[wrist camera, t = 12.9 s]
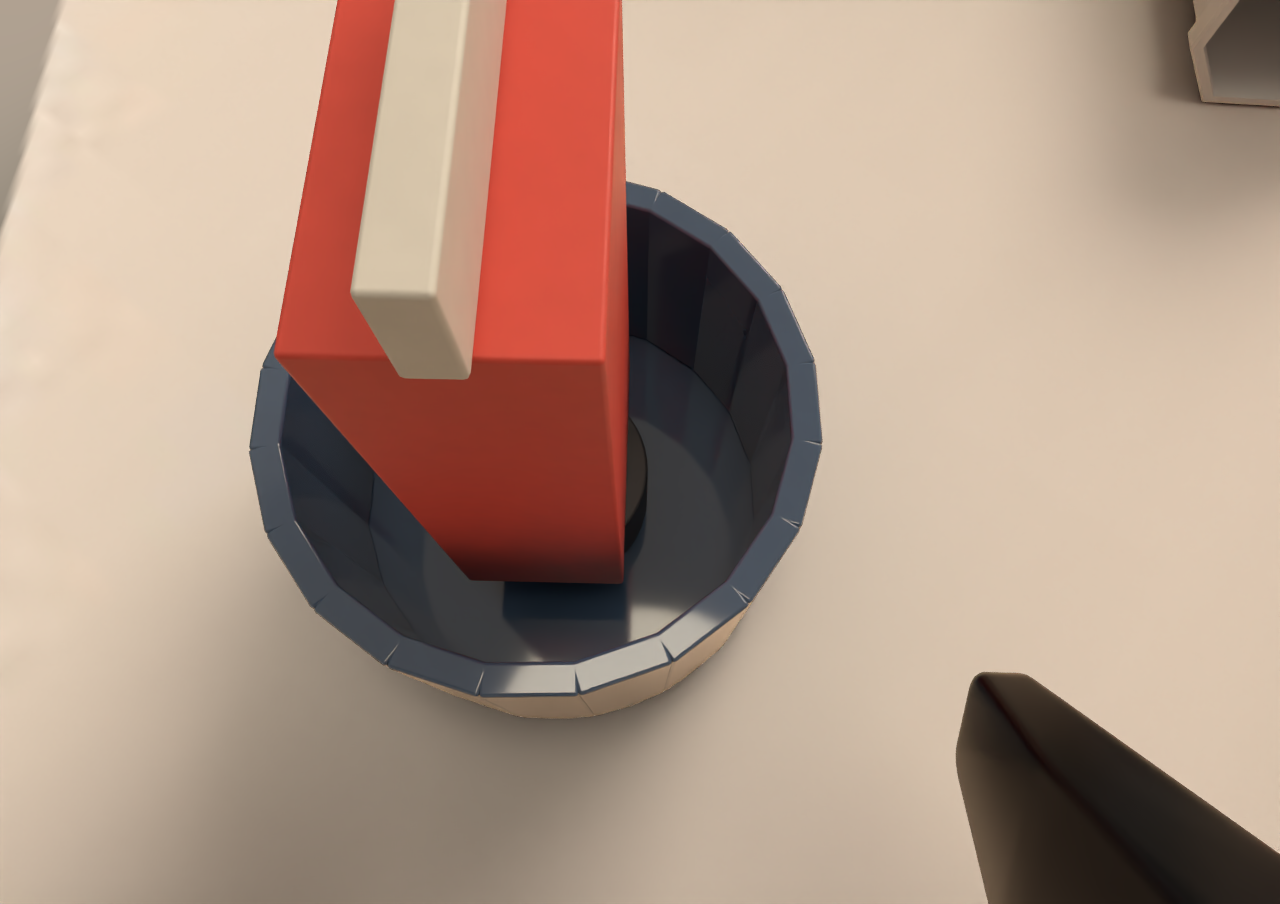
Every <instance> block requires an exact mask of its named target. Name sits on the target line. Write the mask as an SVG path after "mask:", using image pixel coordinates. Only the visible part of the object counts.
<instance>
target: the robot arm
mask: <svg viewBox="0 0 1280 904" xmlns="http://www.w3.org/2000/svg"><path fill="white" fill-rule="evenodd" d="M956 767H957V774H958V779H959V783H960V787H961V791H962V795H963V799H964V804H965V808H966V812H967V816H968V820H969V825H970V829H971V833H972V837H973V841H974V845H975V850H976V854H977V858H978V862H979V866H980V870H981V875H982V879H983V883H984V887H985V891H986V896H987V900H988V904H1280V854H1279V853H1277V852H1276V851H1275V850H1273V849H1272V848H1270V847H1269V846H1268V845H1266V844H1265V843H1263V842H1262V841H1261V840H1259V839H1258V838H1256V837H1255V836H1254V835H1252V834H1251V833H1249V832H1248V831H1247V830H1245V829H1244V828H1242V827H1241V826H1239V825H1238V824H1237V823H1235V822H1234V821H1232V820H1231V819H1230V818H1228V817H1227V816H1225V815H1224V814H1223V813H1221V812H1220V811H1218V810H1217V809H1216V808H1214V807H1213V806H1211V805H1210V804H1209V803H1207V802H1206V801H1204V800H1203V799H1202V798H1200V797H1199V796H1197V795H1196V794H1194V793H1193V792H1192V791H1190V790H1189V789H1187V788H1186V787H1185V786H1183V785H1182V784H1180V783H1179V782H1178V781H1176V780H1175V779H1173V778H1172V777H1171V776H1169V775H1168V774H1166V773H1165V772H1164V771H1162V770H1161V769H1159V768H1158V767H1157V766H1155V765H1154V764H1152V763H1151V762H1150V761H1148V760H1147V759H1145V758H1144V757H1142V756H1141V755H1140V754H1138V753H1137V752H1135V751H1134V750H1133V749H1131V748H1130V747H1128V746H1127V745H1126V744H1124V743H1123V742H1121V741H1120V740H1119V739H1117V738H1116V737H1114V736H1113V735H1112V734H1110V733H1109V732H1107V731H1106V730H1105V729H1103V728H1102V727H1100V726H1099V725H1098V724H1096V723H1095V722H1093V721H1092V720H1090V719H1089V718H1088V717H1086V716H1085V715H1083V714H1082V713H1081V712H1079V711H1078V710H1076V709H1075V708H1074V707H1072V706H1071V705H1069V704H1068V703H1067V702H1065V701H1064V700H1062V699H1061V698H1060V697H1058V696H1057V695H1055V694H1054V693H1053V692H1051V691H1050V690H1048V689H1047V688H1046V687H1044V686H1043V685H1041V684H1040V683H1038V682H1037V681H1036V680H1034V679H1033V678H1031V677H1029V676H1028V675H1025V674H1021V673H999V672H982V673H980V674H978V675H976V676H975V677H974V679H973V680H972V682H971V684H970V688H969V692H968V696H967V701H966V705H965V710H964V714H963V719H962V723H961V728H960V732H959V737H958V741H957V747H956Z"/></svg>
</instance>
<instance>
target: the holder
mask: <svg viewBox="0 0 1280 904" xmlns="http://www.w3.org/2000/svg"><path fill="white" fill-rule="evenodd" d="M626 216H627V262H628V309H629V355H630V373H629V407H628V416H629V417H630V418H631V420H632V421H633V423H634V424H635V426H636V427H637V429H638V431H639V433H640V435H641V437H642V440H643V443H644V446H645V450H646V456H647V465H648V481H647V504H646V512H645V517H644V521H643V524H642V526H641V529H640V532H639V533H638V535H637V537H636V539H635V541H634V542H633V544H632V545H631V546H630V548H629V549H628V550H627V552H626V553H625V554H624V576H623V583H621V584H604V583H560V582H517V581H473V580H469V579H468V577H467V576H466V575H465V574H464V573H463V572H462V571H461V569H460V568H459V567H458V566H457V565H456V564H455V563H454V561H453V560H452V559H451V558H450V557H449V556H448V555H447V553H446V552H445V551H444V550H443V549H442V548H441V547H440V545H439V544H438V543H437V542H436V541H435V540H434V539H433V537H432V536H431V535H430V534H429V533H428V532H427V531H426V529H425V528H424V527H423V526H422V525H421V524H420V523H419V522H418V520H417V519H416V518H415V517H414V516H413V515H412V514H411V512H410V511H409V510H408V509H407V508H406V507H405V506H404V504H403V503H402V502H401V501H400V500H399V499H398V498H397V496H396V495H395V494H394V493H393V492H392V491H391V490H390V488H389V487H388V486H387V485H386V484H385V483H384V482H383V480H382V479H381V478H380V477H379V476H378V475H377V474H376V472H375V471H374V470H373V469H372V468H371V467H370V466H369V464H368V463H367V462H366V461H365V460H364V459H363V458H362V456H361V455H360V454H359V453H358V452H357V451H356V450H355V448H354V447H353V446H352V445H351V444H350V443H349V442H348V440H347V439H346V438H345V437H344V436H343V435H342V434H341V432H340V431H339V430H338V429H337V428H336V427H335V426H334V424H333V423H332V422H331V421H330V420H329V419H328V418H327V416H326V415H325V414H324V413H323V412H322V411H321V410H320V408H319V407H318V406H317V405H316V404H315V403H314V402H313V400H312V399H311V398H310V397H309V396H308V395H307V394H306V392H305V391H304V390H303V389H302V388H301V387H300V386H299V384H298V383H297V382H296V381H295V380H294V379H293V378H292V377H291V375H290V374H289V373H288V372H287V371H286V370H285V369H284V367H283V366H282V365H281V364H280V363H279V362H278V361H277V359H276V358H275V356H274V348H275V343H276V339H275V341H274V343H273V345H272V347H271V349H270V351H269V353H268V355H267V357H266V359H265V361H264V363H263V366H262V367H263V368H262V369H261V371H260V378H259V385H258V392H257V399H256V405H255V412H254V419H253V426H252V432H251V439H250V446H249V447H250V451H249V455H250V460H251V465H252V470H253V475H254V480H255V485H256V490H257V495H258V500H259V505H260V510H261V515H262V520H263V525H264V530H265V532H266V533H267V537H268V539H269V541H270V542H271V544H272V546H273V547H274V549H275V551H276V552H277V554H278V555H279V557H280V559H281V560H282V562H283V563H284V565H285V567H286V568H287V570H288V572H289V573H290V575H291V576H292V578H293V580H294V581H295V583H296V585H297V586H298V588H299V589H300V591H301V593H302V594H303V596H304V597H305V599H306V601H307V602H308V604H309V606H310V607H311V608H313V609H314V611H315V613H317V614H318V615H319V616H320V617H322V618H323V619H324V620H326V621H327V622H328V623H329V624H331V625H332V626H333V627H335V628H336V629H337V630H338V631H340V632H341V633H342V634H344V635H345V636H346V637H347V638H349V639H350V640H351V641H353V642H354V643H355V644H356V645H358V646H359V647H360V648H362V649H363V650H364V651H365V652H367V653H368V654H369V655H371V656H372V657H373V658H374V659H376V660H377V661H378V662H380V663H381V664H382V665H384V666H386V667H389V668H390V669H392V670H394V671H396V672H399V673H401V674H403V675H406V676H408V677H411V678H413V679H415V680H418V681H420V682H423V683H425V684H427V685H430V686H432V687H435V688H437V689H439V690H442V691H444V692H447V693H449V694H451V695H454V696H456V697H460V698H463V699H466V700H469V701H472V702H475V703H478V704H481V705H483V706H486V707H489V708H493V709H496V710H499V711H502V712H505V713H508V714H511V715H514V716H517V717H520V716H521V717H524V718H547V719H572V718H580V717H592V716H594V715H595V716H598V715H602V714H605V713H609V712H612V711H616V710H620V709H623V708H627V707H630V706H633V705H635V704H637V703H640V702H642V701H644V700H647V699H649V698H651V697H654V696H656V695H658V694H661V693H662V692H663V691H667V690H668V689H669V688H671V687H672V686H673V685H675V684H676V683H678V682H680V681H681V680H683V679H684V678H685V677H687V676H688V675H689V674H690V673H692V672H693V671H694V670H695V669H697V668H698V667H699V666H700V665H702V664H703V663H704V662H705V661H706V660H707V659H708V658H709V657H711V656H712V655H713V654H715V653H716V652H717V651H718V650H719V649H720V648H721V647H722V646H723V645H724V644H725V642H726V641H727V639H728V638H729V636H730V635H731V633H732V632H733V630H734V629H735V627H736V626H737V624H738V623H739V621H740V620H741V618H742V617H743V615H744V614H745V612H746V611H747V609H748V608H749V606H750V605H751V603H752V602H753V600H754V599H755V597H756V596H757V594H758V593H759V591H760V590H761V588H762V587H763V585H764V584H765V582H766V581H767V579H768V578H769V576H770V575H771V573H772V572H773V570H774V569H775V567H776V566H777V564H778V563H779V561H780V560H781V558H782V557H783V555H784V554H785V552H786V551H787V549H788V548H789V546H790V545H791V543H792V542H793V540H794V539H795V537H796V536H797V534H798V533H799V529H800V528H801V526H802V524H803V520H804V516H805V512H806V508H807V504H808V501H809V497H810V493H811V489H812V485H813V481H814V477H815V473H816V469H817V466H818V462H819V458H820V454H821V450H822V445H821V444H822V430H821V418H820V407H819V395H818V384H817V373H816V365H815V363H814V358H813V355H812V353H811V351H810V349H809V346H808V344H807V342H806V340H805V338H804V335H803V333H802V331H801V329H800V326H799V324H798V322H797V320H796V317H795V315H794V313H793V311H792V309H791V306H790V304H789V302H788V300H787V297H786V295H785V293H784V291H783V290H782V289H781V286H780V285H779V284H778V283H777V282H776V281H775V280H774V279H773V278H772V277H771V275H770V274H769V273H768V272H767V271H766V270H765V269H764V268H763V267H762V266H761V265H760V263H759V262H758V261H757V260H756V259H755V258H754V257H753V256H752V255H751V254H750V252H749V251H748V250H747V249H746V248H745V247H744V246H743V245H742V244H741V243H740V241H739V240H738V239H737V238H736V237H735V236H734V235H733V234H732V233H731V232H728V230H727V229H726V228H724V227H722V226H721V225H719V224H717V223H716V222H714V221H712V220H711V219H709V218H707V217H706V216H704V215H702V214H700V213H699V212H697V211H695V210H694V209H692V208H690V207H689V206H687V205H685V204H684V203H682V202H680V201H679V200H677V199H675V198H673V197H672V196H670V195H668V194H667V193H665V192H661V191H660V190H658V189H654V188H650V187H646V186H643V185H639V184H635V183H631V182H627V181H626Z"/></svg>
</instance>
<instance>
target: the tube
mask: <svg viewBox="0 0 1280 904" xmlns="http://www.w3.org/2000/svg"><path fill="white" fill-rule="evenodd" d="M1193 4H1194V10H1195V15H1196V22H1195V24H1194V25H1193V26H1192V28H1191V29H1190V31H1189V32H1188V39H1189V46H1190V51H1191V55H1192V60H1193V65H1194V69H1195V74H1196V78H1197V83H1198V87H1199V92H1200V96H1201V101H1203V102H1216V103H1232V104H1249V105H1266V106H1280V0H1193Z"/></svg>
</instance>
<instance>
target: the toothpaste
mask: <svg viewBox="0 0 1280 904" xmlns="http://www.w3.org/2000/svg"><path fill="white" fill-rule="evenodd" d="M274 356H275V358H276V359H277V361H278V362H279V363H280V364H281V365H282V366H283V367H284V369H285V370H286V371H287V372H288V373H289V374H290V375H291V377H292V378H293V379H294V380H295V381H296V382H297V383H298V384H299V386H300V387H301V388H302V389H303V390H304V391H305V392H306V394H307V395H308V396H309V397H310V398H311V399H312V400H313V402H314V403H315V404H316V405H317V406H318V407H319V408H320V410H321V411H322V412H323V413H324V414H325V415H326V416H327V418H328V419H329V420H330V421H331V422H332V423H333V424H334V426H335V427H336V428H337V429H338V430H339V431H340V432H341V434H342V435H343V436H344V437H345V438H346V439H347V440H348V442H349V443H350V444H351V445H352V446H353V447H354V448H355V450H356V451H357V452H358V453H359V454H360V455H361V456H362V458H363V459H364V460H365V461H366V462H367V463H368V464H369V466H370V467H371V468H372V469H373V470H374V471H375V472H376V474H377V475H378V476H379V477H380V478H381V479H382V480H383V482H384V483H385V484H386V485H387V486H388V487H389V488H390V490H391V491H392V492H393V493H394V494H395V495H396V496H397V498H398V499H399V500H400V501H401V502H402V503H403V504H404V506H405V507H406V508H407V509H408V510H409V511H410V512H411V514H412V515H413V516H414V517H415V518H416V519H417V520H418V522H419V523H420V524H421V525H422V526H423V527H424V528H425V529H426V531H427V532H428V533H429V534H430V535H431V536H432V537H433V539H434V540H435V541H436V542H437V543H438V544H439V545H440V547H441V548H442V549H443V550H444V551H445V552H446V553H447V555H448V556H449V557H450V558H451V559H452V560H453V561H454V563H455V564H456V565H457V566H458V567H459V568H460V569H461V571H462V572H463V573H464V574H465V575H466V576H467V577H468V579H469V580H473V581H517V582H560V583H604V584H621V583H623V576H624V554H625V553H626V552H627V550H628V549H629V548H630V546H631V545H632V544H633V542H634V541H635V539H636V537H637V535H638V533H639V532H640V529H641V526H642V524H643V521H644V517H645V512H646V504H647V481H648V465H647V456H646V450H645V446H644V443H643V440H642V437H641V435H640V433H639V431H638V429H637V427H636V426H635V424H634V423H633V421H632V420H631V418H630V417H629V416H628V407H629V373H630V355H629V309H628V262H627V216H626V169H625V123H624V76H623V29H622V0H338V1H337V7H336V12H335V18H334V23H333V29H332V34H331V40H330V45H329V51H328V56H327V62H326V67H325V73H324V78H323V84H322V89H321V95H320V100H319V106H318V111H317V117H316V122H315V128H314V133H313V139H312V144H311V150H310V155H309V161H308V166H307V172H306V177H305V183H304V188H303V194H302V199H301V205H300V210H299V216H298V221H297V227H296V232H295V238H294V243H293V249H292V254H291V260H290V265H289V271H288V277H287V282H286V288H285V293H284V299H283V304H282V310H281V315H280V321H279V326H278V332H277V337H276V343H275V348H274Z"/></svg>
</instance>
